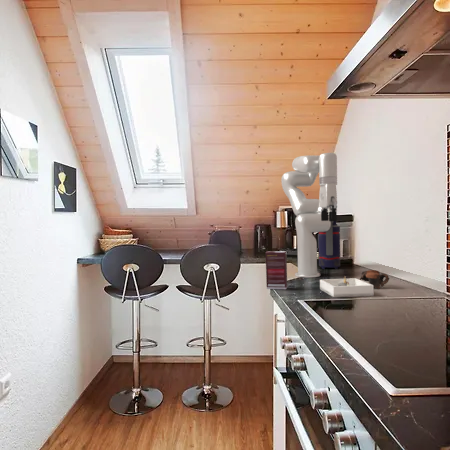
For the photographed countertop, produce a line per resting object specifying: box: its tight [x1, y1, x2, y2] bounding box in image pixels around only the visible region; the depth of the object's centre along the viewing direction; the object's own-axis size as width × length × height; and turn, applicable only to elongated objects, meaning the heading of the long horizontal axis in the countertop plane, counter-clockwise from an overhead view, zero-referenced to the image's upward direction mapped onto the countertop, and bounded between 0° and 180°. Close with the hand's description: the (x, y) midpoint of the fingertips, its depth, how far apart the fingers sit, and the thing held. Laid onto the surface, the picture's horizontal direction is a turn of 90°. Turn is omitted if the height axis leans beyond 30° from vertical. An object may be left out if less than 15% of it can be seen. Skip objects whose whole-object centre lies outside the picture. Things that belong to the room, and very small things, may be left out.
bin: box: [319, 277, 375, 298], centre depth 150 cm, size 16×16×4 cm
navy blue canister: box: [318, 221, 341, 270], centre depth 214 cm, size 14×12×30 cm
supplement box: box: [265, 250, 288, 290], centre depth 160 cm, size 9×5×16 cm, turn 75°
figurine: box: [338, 275, 349, 286], centre depth 150 cm, size 5×4×6 cm
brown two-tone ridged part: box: [359, 269, 390, 290], centre depth 159 cm, size 12×10×8 cm
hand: (328, 221), depth 164 cm, fingers open, 9 cm apart
